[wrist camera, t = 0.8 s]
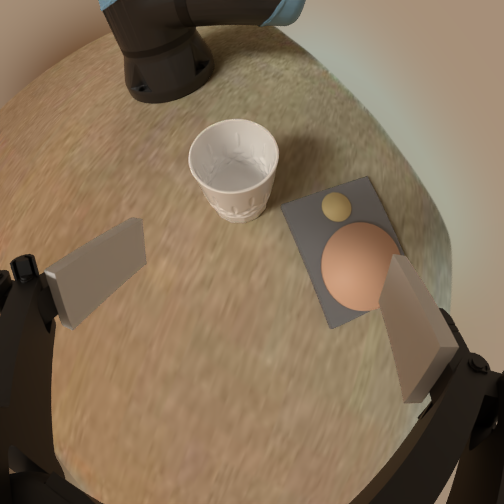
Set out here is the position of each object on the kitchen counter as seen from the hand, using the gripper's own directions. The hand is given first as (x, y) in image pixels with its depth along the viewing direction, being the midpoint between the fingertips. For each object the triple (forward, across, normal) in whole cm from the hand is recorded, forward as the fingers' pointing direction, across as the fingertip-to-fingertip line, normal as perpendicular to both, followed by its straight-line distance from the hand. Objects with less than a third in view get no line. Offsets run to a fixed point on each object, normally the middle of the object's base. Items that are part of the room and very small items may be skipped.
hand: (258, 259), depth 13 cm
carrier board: (+18, +8, -6) cm, 21 cm away
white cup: (+20, -6, -2) cm, 20 cm away
